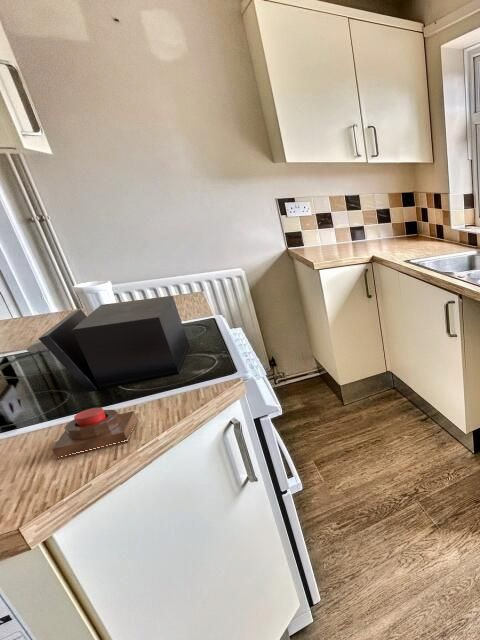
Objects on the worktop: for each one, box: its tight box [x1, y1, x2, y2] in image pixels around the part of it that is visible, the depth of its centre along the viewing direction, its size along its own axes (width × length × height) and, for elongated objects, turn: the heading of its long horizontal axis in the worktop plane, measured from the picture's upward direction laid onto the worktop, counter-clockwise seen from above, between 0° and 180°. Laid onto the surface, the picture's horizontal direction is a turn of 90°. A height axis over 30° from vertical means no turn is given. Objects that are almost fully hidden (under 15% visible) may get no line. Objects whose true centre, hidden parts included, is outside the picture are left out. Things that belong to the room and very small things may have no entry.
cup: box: [72, 280, 117, 316], centre depth 122 cm, size 8×8×14 cm
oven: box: [73, 295, 190, 391], centre depth 99 cm, size 14×20×14 cm
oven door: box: [26, 308, 99, 393], centre depth 94 cm, size 5×20×14 cm, turn 30°
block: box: [51, 409, 139, 461], centre depth 73 cm, size 9×8×4 cm
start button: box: [73, 407, 107, 427], centre depth 72 cm, size 4×4×2 cm
